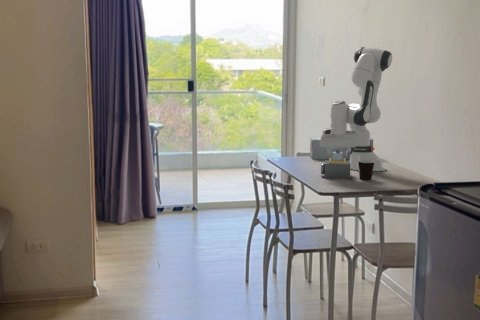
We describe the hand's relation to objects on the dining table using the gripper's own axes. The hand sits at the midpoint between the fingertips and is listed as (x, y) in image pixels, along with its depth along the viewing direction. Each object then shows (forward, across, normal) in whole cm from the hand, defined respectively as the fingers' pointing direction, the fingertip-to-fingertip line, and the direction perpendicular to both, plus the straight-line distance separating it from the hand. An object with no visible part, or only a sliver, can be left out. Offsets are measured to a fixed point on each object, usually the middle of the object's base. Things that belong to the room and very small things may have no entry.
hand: (337, 155), depth 326 cm
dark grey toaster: (+12, 0, 0) cm, 12 cm away
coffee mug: (+12, -16, +5) cm, 21 cm away
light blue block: (+4, 0, 0) cm, 4 cm away
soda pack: (+13, -4, -63) cm, 64 cm away
